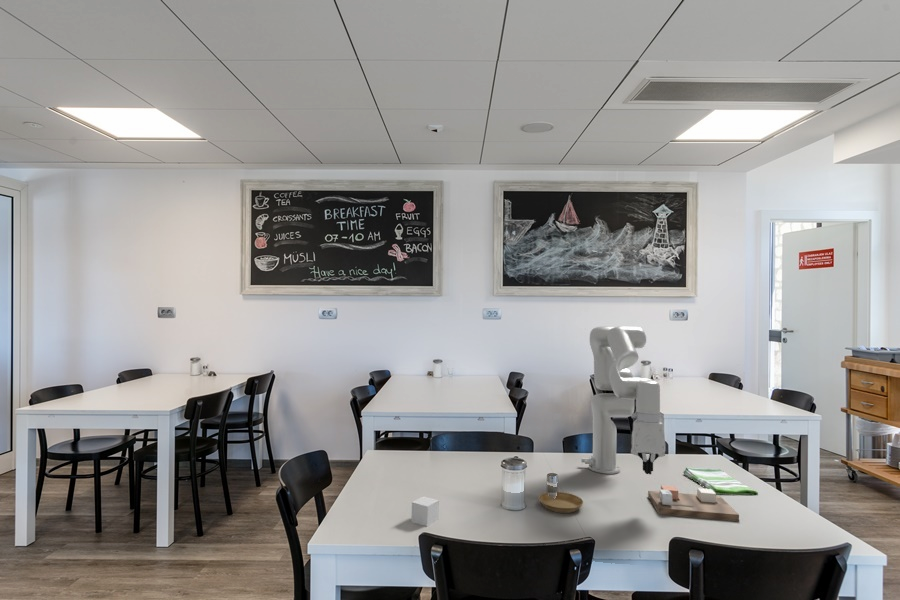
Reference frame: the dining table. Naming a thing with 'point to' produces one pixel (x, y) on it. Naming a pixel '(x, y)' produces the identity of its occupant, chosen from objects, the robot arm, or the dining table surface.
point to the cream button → (706, 495)
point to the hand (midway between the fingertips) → (647, 472)
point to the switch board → (694, 507)
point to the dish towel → (718, 481)
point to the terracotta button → (672, 490)
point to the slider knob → (665, 497)
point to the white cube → (425, 511)
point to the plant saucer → (561, 502)
